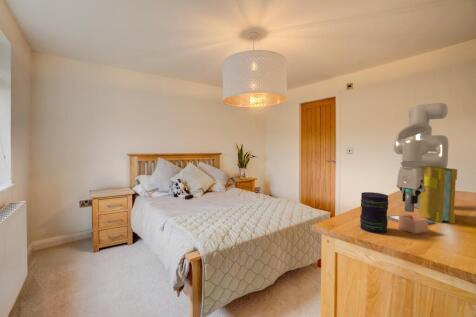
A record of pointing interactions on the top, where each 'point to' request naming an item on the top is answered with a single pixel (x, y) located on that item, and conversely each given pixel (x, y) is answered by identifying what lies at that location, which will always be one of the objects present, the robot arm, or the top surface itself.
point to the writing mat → (396, 217)
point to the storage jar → (374, 212)
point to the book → (438, 194)
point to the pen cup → (413, 224)
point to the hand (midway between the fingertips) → (409, 202)
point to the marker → (408, 200)
